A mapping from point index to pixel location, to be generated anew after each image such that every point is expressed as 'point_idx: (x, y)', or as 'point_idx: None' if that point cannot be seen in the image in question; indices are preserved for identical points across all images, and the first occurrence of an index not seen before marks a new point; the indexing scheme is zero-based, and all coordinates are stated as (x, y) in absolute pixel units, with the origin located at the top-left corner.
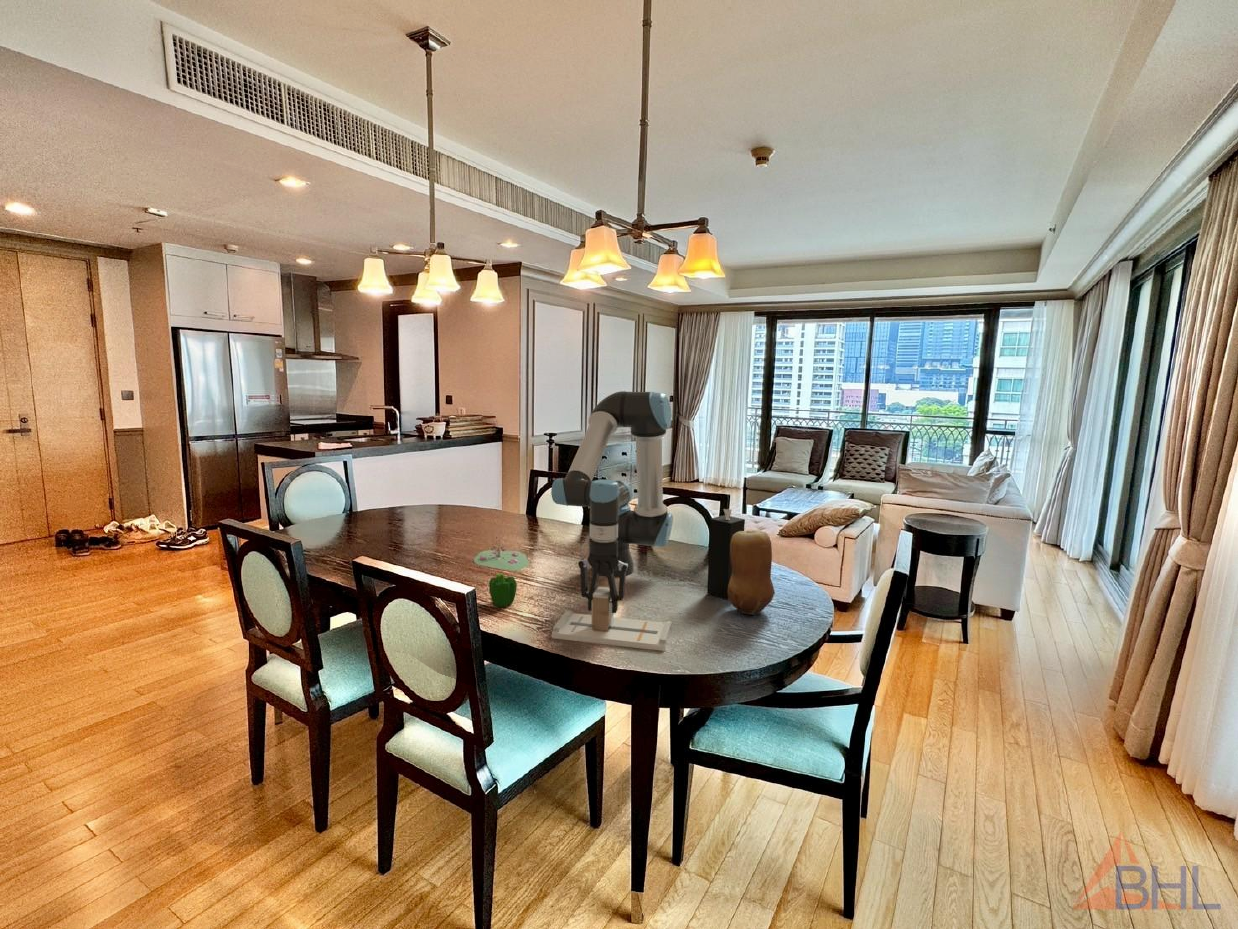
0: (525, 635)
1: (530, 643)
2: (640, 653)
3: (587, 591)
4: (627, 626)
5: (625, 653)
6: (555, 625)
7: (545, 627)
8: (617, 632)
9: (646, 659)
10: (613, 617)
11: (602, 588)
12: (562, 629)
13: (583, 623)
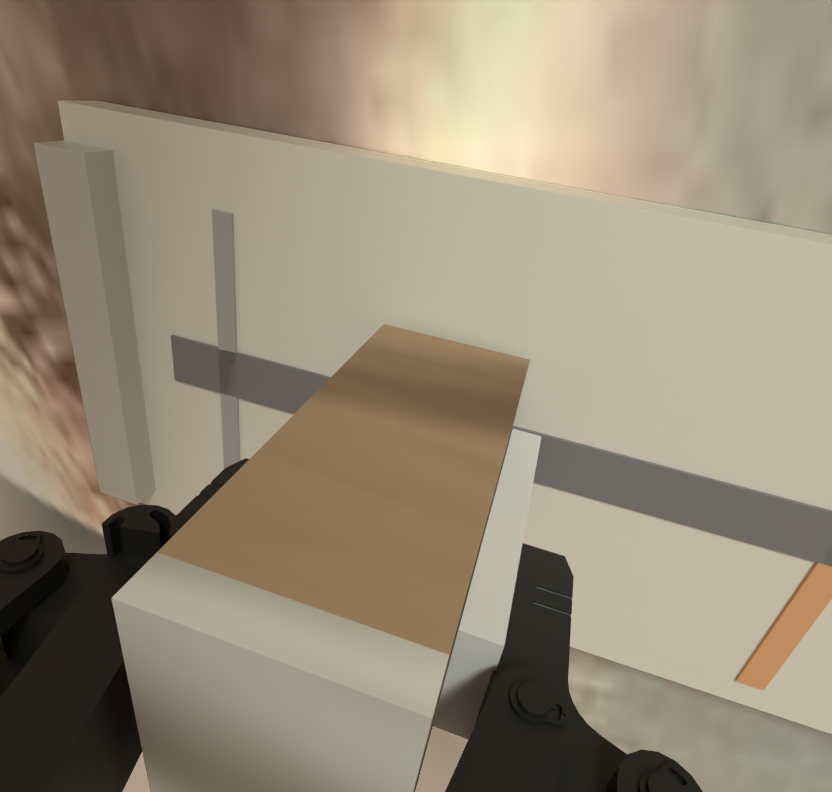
0: (9, 430)
1: (80, 520)
2: (730, 719)
3: (39, 617)
4: (696, 435)
5: (620, 699)
6: (99, 461)
7: (45, 319)
8: (577, 540)
9: (755, 779)
10: (534, 471)
11: (221, 699)
12: (162, 458)
13: (271, 367)
